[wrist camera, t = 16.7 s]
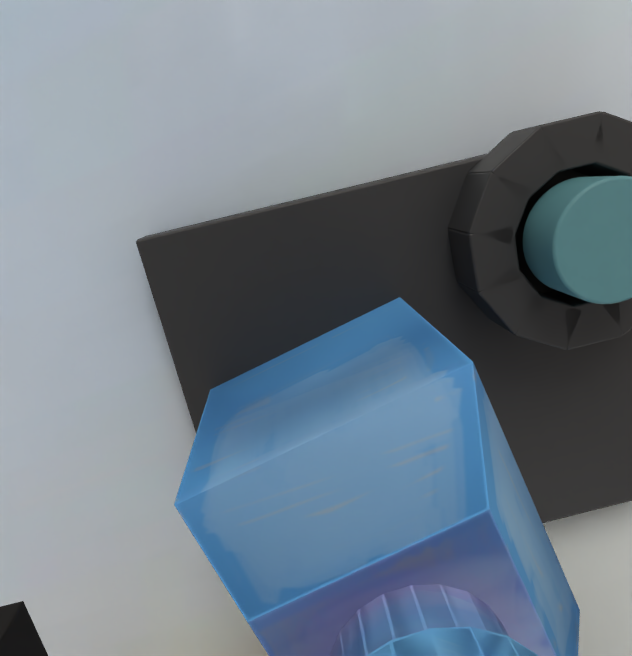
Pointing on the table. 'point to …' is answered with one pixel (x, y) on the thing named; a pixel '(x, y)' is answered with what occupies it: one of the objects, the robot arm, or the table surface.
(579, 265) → the button
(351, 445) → the perfume bottle
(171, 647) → the table surface
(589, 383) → the scale
